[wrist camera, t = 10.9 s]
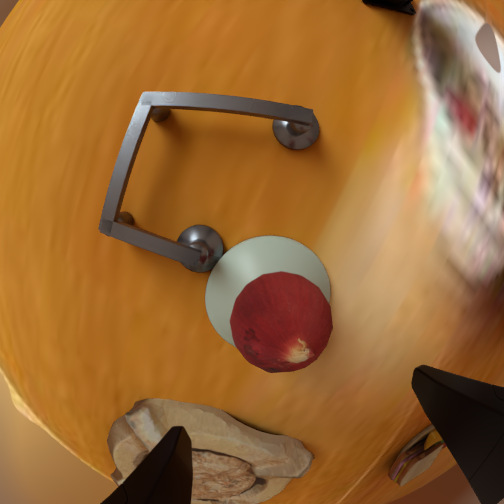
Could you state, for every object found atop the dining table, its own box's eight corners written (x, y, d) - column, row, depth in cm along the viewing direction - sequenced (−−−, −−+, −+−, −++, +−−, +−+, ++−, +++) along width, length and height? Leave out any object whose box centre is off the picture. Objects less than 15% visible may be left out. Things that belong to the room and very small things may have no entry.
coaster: (319, 224, 19) (322, 225, 18) (331, 335, 21) (334, 338, 20) (193, 249, 18) (191, 251, 18) (221, 358, 20) (221, 362, 20)
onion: (279, 348, 20) (305, 420, 12) (213, 312, 19) (207, 380, 11) (325, 287, 19) (380, 336, 11) (260, 243, 18) (286, 274, 10)
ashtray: (197, 348, 20) (189, 387, 16) (337, 455, 25) (348, 484, 20) (71, 431, 22) (58, 457, 17) (203, 507, 27) (202, 531, 22)
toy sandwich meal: (434, 452, 29) (445, 468, 24) (374, 476, 28) (384, 496, 23) (466, 404, 27) (482, 420, 22) (405, 429, 25) (420, 451, 21)
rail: (305, 80, 16) (318, 62, 13) (337, 243, 19) (355, 252, 16) (101, 124, 16) (80, 114, 13) (132, 284, 19) (115, 299, 16)
